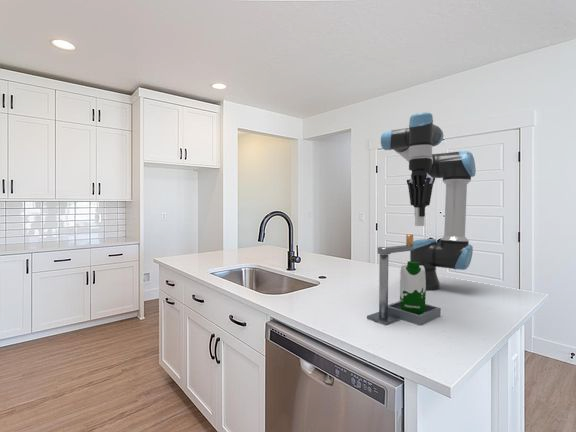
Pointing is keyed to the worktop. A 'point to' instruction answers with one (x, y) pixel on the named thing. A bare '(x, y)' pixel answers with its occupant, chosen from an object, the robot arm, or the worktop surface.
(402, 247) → the crank handle
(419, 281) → the soya milk
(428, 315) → the socket frame
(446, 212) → the robot arm
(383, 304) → the post
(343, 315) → the worktop surface
